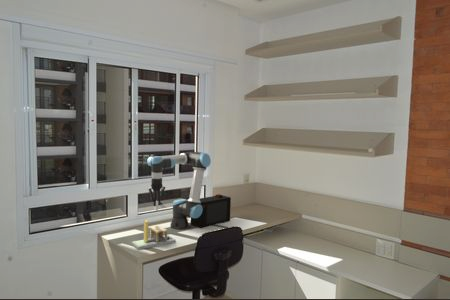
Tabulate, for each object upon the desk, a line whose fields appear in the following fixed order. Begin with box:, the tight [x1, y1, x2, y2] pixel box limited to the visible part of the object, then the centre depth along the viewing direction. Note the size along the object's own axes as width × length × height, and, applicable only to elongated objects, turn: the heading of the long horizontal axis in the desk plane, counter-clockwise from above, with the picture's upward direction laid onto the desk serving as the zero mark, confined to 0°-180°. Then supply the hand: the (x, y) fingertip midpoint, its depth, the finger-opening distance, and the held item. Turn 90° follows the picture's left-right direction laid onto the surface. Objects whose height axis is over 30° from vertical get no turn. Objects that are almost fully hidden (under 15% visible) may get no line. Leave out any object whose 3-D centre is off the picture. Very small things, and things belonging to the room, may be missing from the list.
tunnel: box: [149, 225, 168, 243], centre depth 249 cm, size 8×12×8 cm, turn 35°
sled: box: [143, 220, 165, 242], centre depth 247 cm, size 14×7×15 cm, turn 125°
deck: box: [131, 234, 176, 251], centre depth 247 cm, size 29×12×2 cm, turn 125°
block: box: [154, 231, 164, 238], centre depth 249 cm, size 5×5×5 cm
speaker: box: [190, 194, 232, 229], centre depth 302 cm, size 15×35×24 cm, turn 134°
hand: (156, 210), depth 246 cm, fingers closed
